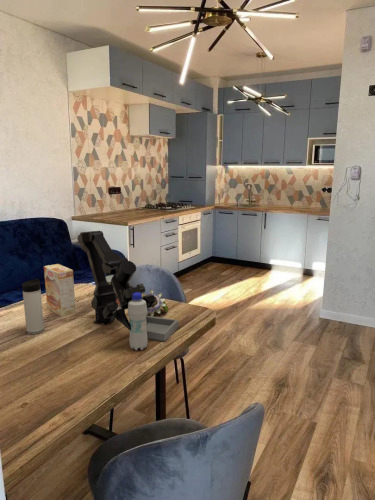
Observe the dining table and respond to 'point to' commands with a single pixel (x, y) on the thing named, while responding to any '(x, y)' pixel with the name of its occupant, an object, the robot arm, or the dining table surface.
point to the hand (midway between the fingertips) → (138, 327)
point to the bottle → (137, 322)
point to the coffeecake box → (60, 289)
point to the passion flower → (156, 304)
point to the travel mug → (33, 306)
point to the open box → (160, 328)
